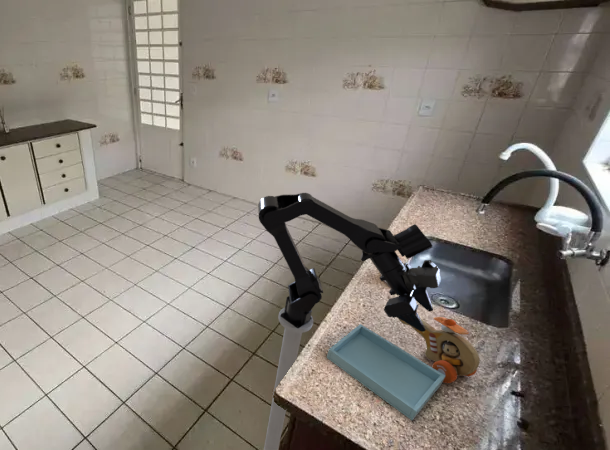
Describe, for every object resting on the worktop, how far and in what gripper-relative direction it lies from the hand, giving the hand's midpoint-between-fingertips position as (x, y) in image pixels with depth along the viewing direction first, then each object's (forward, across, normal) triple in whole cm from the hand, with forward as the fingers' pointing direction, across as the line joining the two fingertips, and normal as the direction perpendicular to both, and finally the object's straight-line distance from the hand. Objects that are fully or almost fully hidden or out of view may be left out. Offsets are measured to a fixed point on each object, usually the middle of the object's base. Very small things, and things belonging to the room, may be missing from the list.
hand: (427, 320), depth 86 cm
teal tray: (+4, -13, +10) cm, 17 cm away
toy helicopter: (+10, 0, +5) cm, 11 cm away
